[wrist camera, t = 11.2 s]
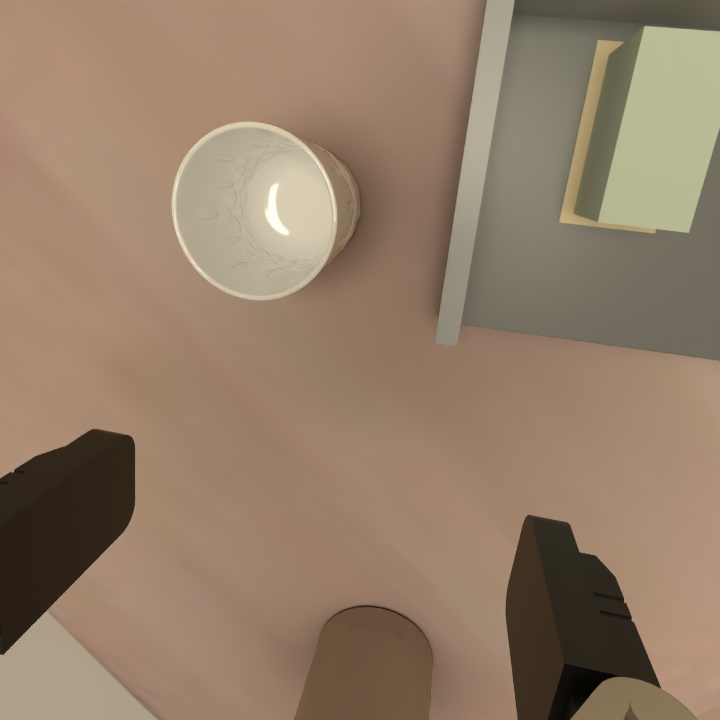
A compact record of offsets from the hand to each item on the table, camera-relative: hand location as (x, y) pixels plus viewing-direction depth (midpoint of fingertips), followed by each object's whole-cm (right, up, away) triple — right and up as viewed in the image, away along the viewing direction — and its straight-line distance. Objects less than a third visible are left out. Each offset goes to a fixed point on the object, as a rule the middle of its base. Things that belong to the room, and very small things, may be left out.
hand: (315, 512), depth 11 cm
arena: (+16, +13, +20) cm, 29 cm away
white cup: (-2, +13, +24) cm, 27 cm away
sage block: (+15, +15, +19) cm, 28 cm away
